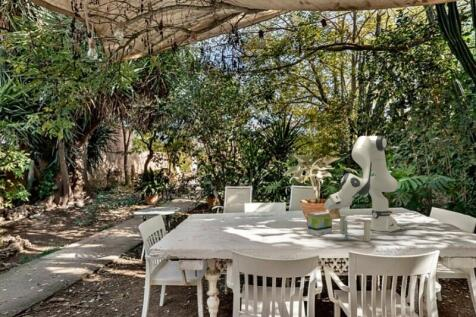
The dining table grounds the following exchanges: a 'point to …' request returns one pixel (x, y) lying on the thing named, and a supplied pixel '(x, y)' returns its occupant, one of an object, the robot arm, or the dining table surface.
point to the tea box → (319, 223)
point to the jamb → (367, 230)
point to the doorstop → (334, 214)
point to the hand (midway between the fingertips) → (332, 210)
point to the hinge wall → (342, 223)
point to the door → (345, 228)
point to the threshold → (355, 236)
